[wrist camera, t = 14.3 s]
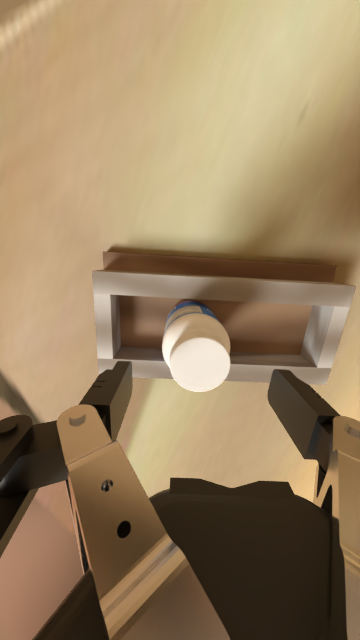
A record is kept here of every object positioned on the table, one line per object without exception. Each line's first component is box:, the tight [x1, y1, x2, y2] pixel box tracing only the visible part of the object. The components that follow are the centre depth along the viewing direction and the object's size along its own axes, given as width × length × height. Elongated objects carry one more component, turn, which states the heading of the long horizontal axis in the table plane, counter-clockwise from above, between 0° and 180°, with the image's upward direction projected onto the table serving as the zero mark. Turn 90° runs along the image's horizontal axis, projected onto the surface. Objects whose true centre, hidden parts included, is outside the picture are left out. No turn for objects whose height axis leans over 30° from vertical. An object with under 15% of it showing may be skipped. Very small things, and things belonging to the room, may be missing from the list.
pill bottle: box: [162, 301, 231, 392], centre depth 18 cm, size 6×5×10 cm
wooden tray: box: [92, 252, 356, 385], centre depth 21 cm, size 14×24×4 cm, turn 87°
